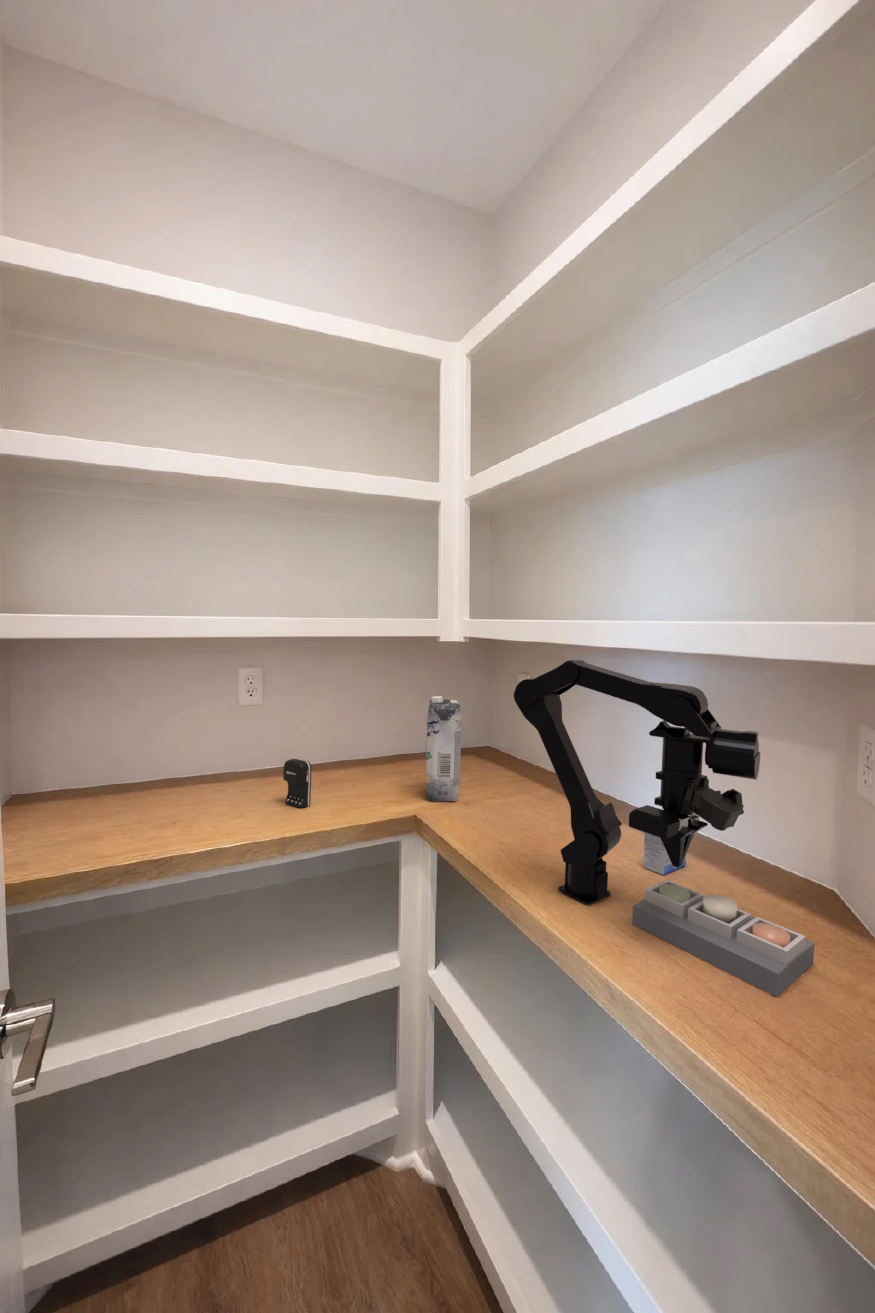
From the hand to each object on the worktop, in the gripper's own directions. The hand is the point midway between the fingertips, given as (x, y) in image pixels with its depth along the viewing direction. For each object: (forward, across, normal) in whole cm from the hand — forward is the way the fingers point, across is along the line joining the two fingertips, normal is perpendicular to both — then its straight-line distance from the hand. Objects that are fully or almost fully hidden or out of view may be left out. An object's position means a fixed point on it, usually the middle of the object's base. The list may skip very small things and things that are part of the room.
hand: (676, 866), depth 86 cm
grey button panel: (+9, 0, -7) cm, 11 cm away
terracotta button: (+6, 0, -14) cm, 15 cm away
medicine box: (+9, +18, +12) cm, 24 cm away
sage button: (+6, 0, 0) cm, 6 cm away
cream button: (+5, 0, -7) cm, 8 cm away
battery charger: (+9, -27, +84) cm, 89 cm away
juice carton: (+9, +8, +70) cm, 71 cm away
